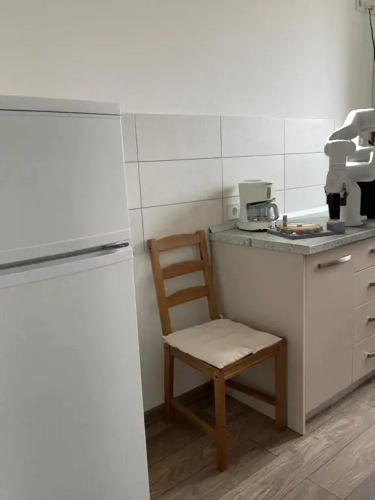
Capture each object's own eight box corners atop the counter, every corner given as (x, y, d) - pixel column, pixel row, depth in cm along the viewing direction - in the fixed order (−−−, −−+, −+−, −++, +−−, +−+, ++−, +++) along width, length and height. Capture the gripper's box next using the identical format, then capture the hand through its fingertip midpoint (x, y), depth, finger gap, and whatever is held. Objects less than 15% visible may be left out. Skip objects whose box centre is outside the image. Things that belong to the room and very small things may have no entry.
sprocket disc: (272, 227, 213) (272, 214, 212) (313, 225, 214) (314, 212, 213) (283, 234, 193) (283, 219, 192) (329, 232, 194) (329, 217, 193)
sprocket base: (305, 228, 218) (305, 223, 217) (333, 234, 198) (333, 229, 197) (267, 232, 211) (267, 227, 210) (292, 239, 190) (292, 234, 190)
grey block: (326, 232, 205) (326, 220, 204) (338, 230, 207) (338, 219, 206) (332, 233, 201) (332, 221, 199) (344, 232, 203) (345, 220, 202)
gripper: (318, 168, 204) (317, 204, 207) (343, 168, 188) (341, 207, 191) (331, 167, 207) (330, 203, 210) (357, 167, 191) (355, 206, 194)
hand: (336, 205), depth 201 cm, fingers open, 9 cm apart
